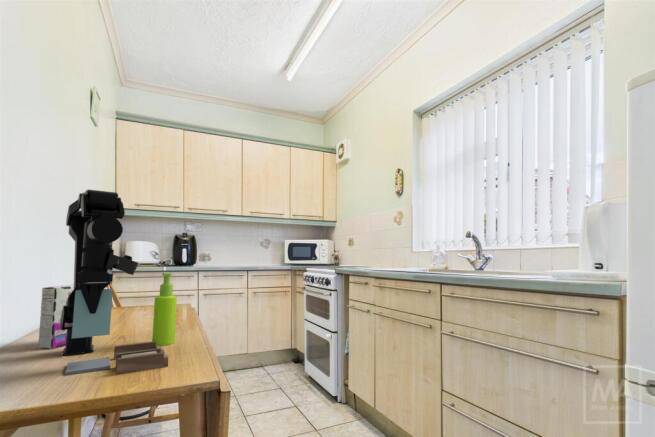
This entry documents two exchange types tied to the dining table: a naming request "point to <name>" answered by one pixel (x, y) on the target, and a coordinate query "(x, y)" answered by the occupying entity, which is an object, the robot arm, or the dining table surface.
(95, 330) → the light blue rectangular prism
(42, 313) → the candy bar box
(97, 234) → the robot arm
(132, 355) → the gray notched block
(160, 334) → the soap dispenser
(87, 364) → the slate mat
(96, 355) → the dining table surface
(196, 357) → the dining table surface
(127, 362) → the walnut rack
